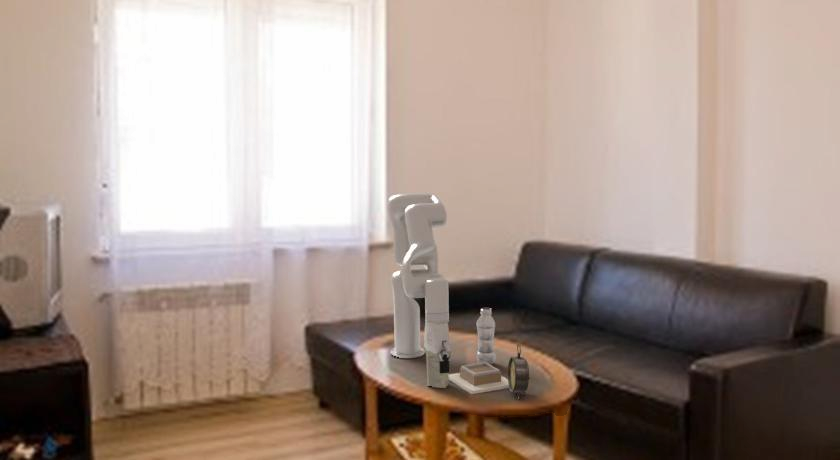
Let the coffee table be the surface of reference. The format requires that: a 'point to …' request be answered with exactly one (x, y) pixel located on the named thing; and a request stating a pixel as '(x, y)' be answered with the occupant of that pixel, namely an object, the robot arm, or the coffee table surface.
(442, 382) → the skincare box
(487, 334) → the plastic bottle
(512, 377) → the alarm clock
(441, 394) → the coffee table surface
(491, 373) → the display base
